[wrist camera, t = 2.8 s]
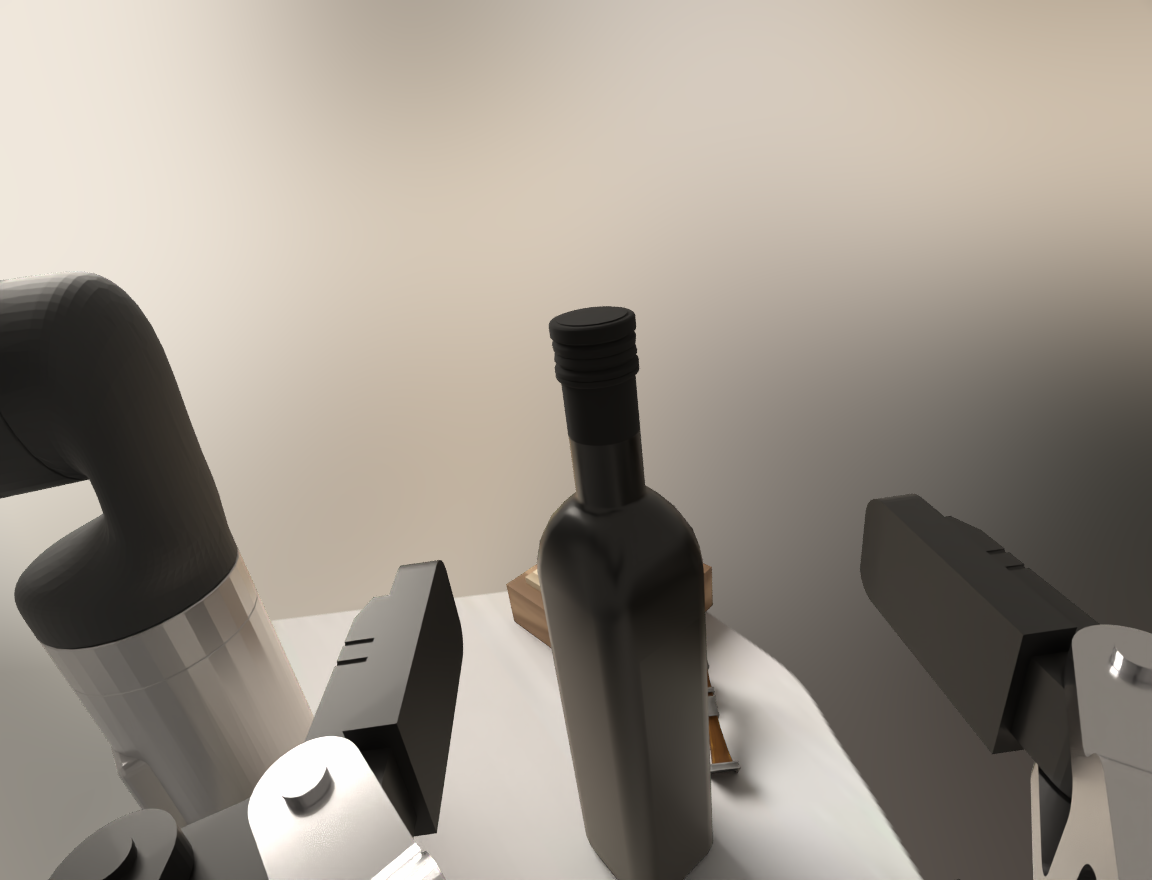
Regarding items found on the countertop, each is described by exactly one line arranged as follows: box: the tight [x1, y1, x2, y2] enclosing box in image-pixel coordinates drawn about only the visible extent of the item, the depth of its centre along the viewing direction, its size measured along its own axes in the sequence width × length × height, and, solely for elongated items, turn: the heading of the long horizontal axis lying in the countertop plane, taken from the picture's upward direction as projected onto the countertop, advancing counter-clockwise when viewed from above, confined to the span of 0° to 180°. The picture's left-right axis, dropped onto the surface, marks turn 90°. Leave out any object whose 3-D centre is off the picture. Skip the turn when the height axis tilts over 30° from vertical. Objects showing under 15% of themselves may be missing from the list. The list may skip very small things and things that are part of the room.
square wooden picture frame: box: [506, 563, 713, 647], centre depth 49 cm, size 12×12×5 cm
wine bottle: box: [537, 306, 713, 880], centre depth 27 cm, size 6×6×30 cm
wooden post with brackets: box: [707, 661, 741, 773], centre depth 39 cm, size 2×8×4 cm, turn 2°
